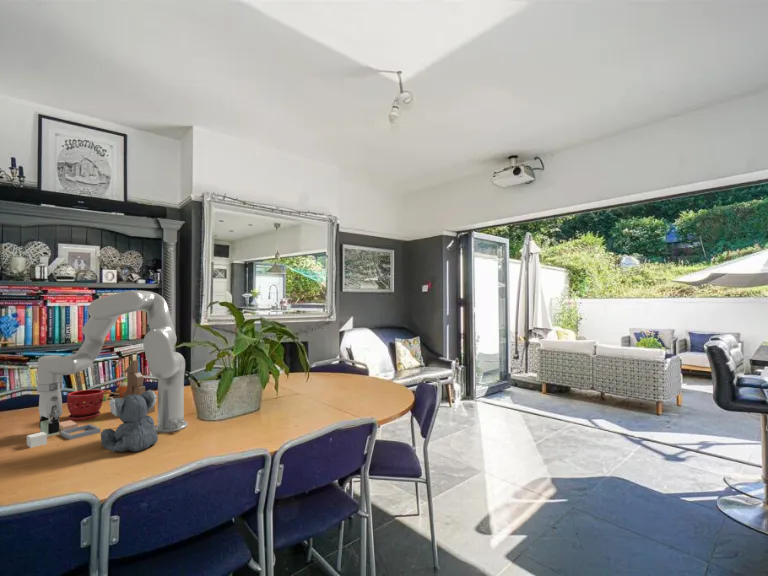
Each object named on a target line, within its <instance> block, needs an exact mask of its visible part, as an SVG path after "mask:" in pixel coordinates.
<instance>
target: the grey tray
mask: <svg viewBox="0 0 768 576" xmlns="http://www.w3.org/2000/svg"><path fill="white" fill-rule="evenodd" d="M80 431H81V432H80ZM75 432H78V433H75ZM71 433H74V434H71ZM99 433H100V434H101V428H100V427H98V426H96V425H93V424H91V423H89V424H86V425H80V426H78V427H76V428H72V429H68V430H63V431H62V430H59V435H60V436H61V437H63V438H65V439H66V440H67V439H68V440H69V441H71V440H75V439H79V438H84V437H88V436H91V435H96V434H99Z"/></svg>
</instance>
